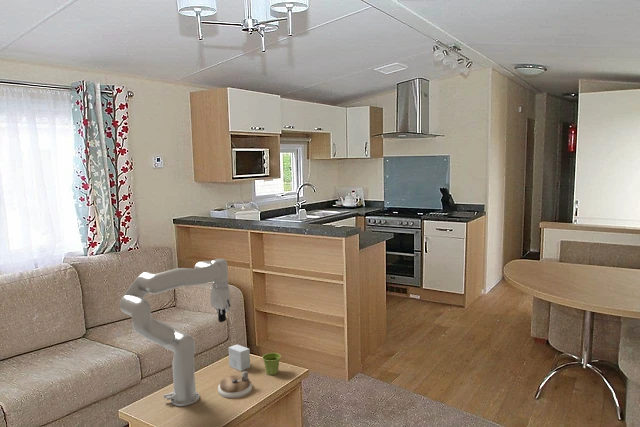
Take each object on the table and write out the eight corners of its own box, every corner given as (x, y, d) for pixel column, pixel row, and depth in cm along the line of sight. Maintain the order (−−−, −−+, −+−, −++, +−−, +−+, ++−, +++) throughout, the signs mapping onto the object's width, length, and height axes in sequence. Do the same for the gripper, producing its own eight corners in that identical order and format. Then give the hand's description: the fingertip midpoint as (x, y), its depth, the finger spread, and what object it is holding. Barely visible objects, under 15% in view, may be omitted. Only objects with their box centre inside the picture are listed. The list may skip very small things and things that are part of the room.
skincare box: (250, 367, 247) (250, 348, 246) (241, 371, 242) (240, 352, 241) (238, 362, 254) (237, 343, 252) (228, 366, 249) (227, 347, 248)
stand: (221, 400, 213) (220, 396, 212) (215, 385, 228) (215, 381, 227) (255, 393, 218) (255, 389, 218) (248, 379, 233) (247, 374, 233)
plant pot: (285, 371, 241) (284, 355, 240) (273, 378, 233) (272, 362, 232) (271, 367, 246) (270, 351, 245) (259, 374, 238) (258, 357, 237)
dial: (223, 394, 214) (222, 384, 213) (217, 381, 226) (216, 371, 226) (253, 388, 219) (252, 377, 218) (245, 375, 232) (245, 365, 231)
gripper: (204, 284, 227) (206, 320, 229) (224, 288, 218) (226, 326, 220) (216, 280, 233) (218, 316, 235) (236, 285, 224) (238, 322, 226)
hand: (222, 321), depth 228 cm, fingers closed
